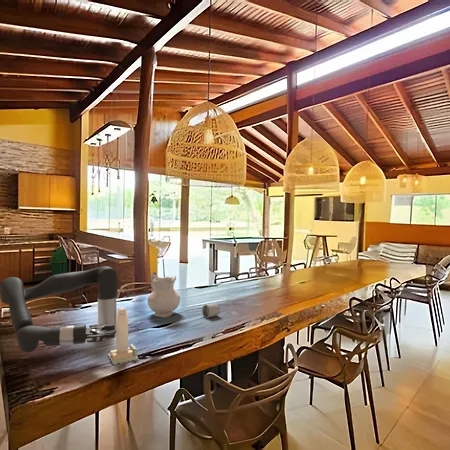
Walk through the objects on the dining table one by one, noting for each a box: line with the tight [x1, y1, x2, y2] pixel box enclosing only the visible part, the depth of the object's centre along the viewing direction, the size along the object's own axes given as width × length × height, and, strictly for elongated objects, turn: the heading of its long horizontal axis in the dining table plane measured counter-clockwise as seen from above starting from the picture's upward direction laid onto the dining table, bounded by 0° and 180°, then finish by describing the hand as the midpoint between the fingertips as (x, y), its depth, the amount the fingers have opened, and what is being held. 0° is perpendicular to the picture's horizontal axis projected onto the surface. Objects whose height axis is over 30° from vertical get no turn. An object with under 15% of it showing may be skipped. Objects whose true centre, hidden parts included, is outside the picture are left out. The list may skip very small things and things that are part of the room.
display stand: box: [107, 343, 139, 365], centre depth 149 cm, size 10×10×4 cm
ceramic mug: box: [201, 303, 221, 319], centre depth 208 cm, size 11×8×8 cm
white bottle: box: [115, 307, 129, 353], centre depth 149 cm, size 5×5×18 cm
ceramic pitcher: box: [147, 271, 181, 319], centre depth 211 cm, size 22×20×25 cm
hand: (114, 330), depth 148 cm, fingers open, 8 cm apart
